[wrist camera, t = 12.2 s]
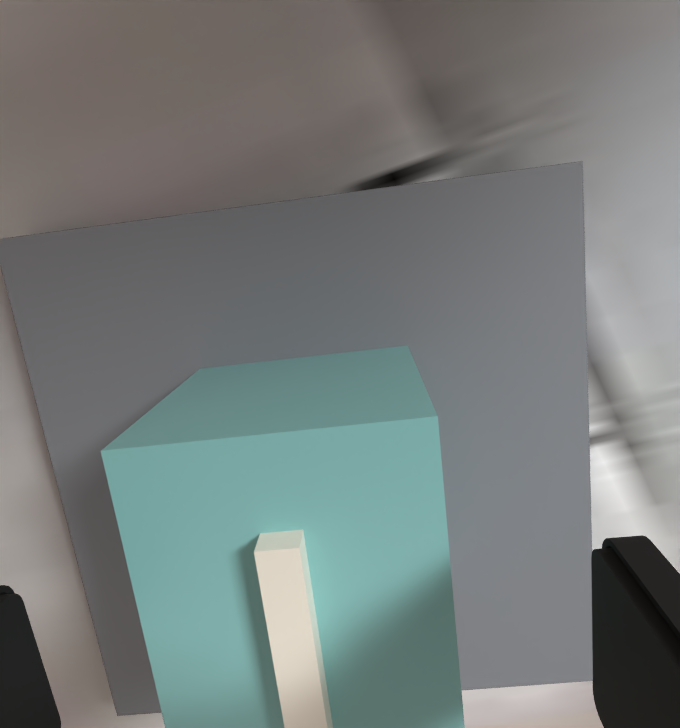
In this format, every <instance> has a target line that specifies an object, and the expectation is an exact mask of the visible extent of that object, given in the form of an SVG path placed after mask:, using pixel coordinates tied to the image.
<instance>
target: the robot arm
mask: <svg viewBox="0 0 680 728" xmlns="http://www.w3.org/2000/svg"><path fill="white" fill-rule="evenodd" d="M591 572H592V653H593V695H594V701H595V705H596V709H597V712H598V715H599V717H600V720H601V722H602V724H603V726H604V728H680V574H679V573H678V572H677V571H676V569H675V568H674V567H673V566H672V565H671V564H670V562H669V561H668V560H667V559H666V558H665V557H664V556H663V554H662V553H661V552H660V551H659V550H658V549H657V547H656V546H655V545H654V544H653V543H652V542H651V540H649V539H648V538H647V537H646V536H632V537H619V538H606V539H605V540H604V542H603V544H602V549H594V550H593V551H592V556H591ZM0 728H61V721H60V716H59V713H58V710H57V707H56V704H55V700H54V697H53V694H52V691H51V688H50V685H49V681H48V678H47V675H46V672H45V669H44V666H43V663H42V659H41V656H40V653H39V650H38V647H37V644H36V640H35V637H34V634H33V631H32V628H31V625H30V621H29V618H28V615H27V612H26V609H25V606H24V602H23V600H22V598H21V597H20V596H19V595H18V594H15V593H14V591H13V590H12V589H11V588H10V587H9V586H5V585H1V586H0Z"/></svg>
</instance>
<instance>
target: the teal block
mask: <svg viewBox="0 0 680 728" xmlns="http://www.w3.org/2000/svg"><path fill="white" fill-rule="evenodd" d="M101 455H102V459H103V463H104V468H105V472H106V476H107V480H108V485H109V489H110V493H111V498H112V502H113V506H114V510H115V515H116V519H117V523H118V527H119V532H120V536H121V540H122V545H123V549H124V553H125V557H126V562H127V566H128V570H129V574H130V579H131V583H132V587H133V592H134V596H135V600H136V604H137V609H138V613H139V617H140V621H141V626H142V630H143V634H144V639H145V643H146V647H147V651H148V656H149V660H150V664H151V668H152V673H153V677H154V681H155V686H156V690H157V694H158V698H159V703H160V707H161V711H162V715H163V720H164V724H165V728H465V727H464V715H463V704H462V692H461V681H460V669H459V657H458V646H457V634H456V622H455V611H454V599H453V587H452V576H451V564H450V553H449V541H448V529H447V518H446V506H445V494H444V483H443V471H442V460H441V448H440V436H439V425H438V416H437V413H436V411H435V409H434V406H433V404H432V401H431V399H430V397H429V394H428V392H427V390H426V387H425V385H424V383H423V380H422V378H421V376H420V373H419V371H418V369H417V366H416V364H415V362H414V359H413V357H412V355H411V352H410V350H409V347H408V346H400V347H391V348H382V349H373V350H364V351H355V352H346V353H337V354H328V355H319V356H310V357H301V358H292V359H283V360H274V361H265V362H256V363H247V364H238V365H230V366H221V367H212V368H203V369H199V370H198V371H197V372H195V373H194V374H193V375H192V376H191V377H189V378H188V379H187V380H186V381H185V382H183V383H182V384H181V385H180V386H179V387H177V388H176V389H175V390H174V391H172V392H171V393H170V394H169V395H168V396H166V397H165V398H164V399H163V400H162V401H160V402H159V403H158V404H157V405H156V406H154V407H153V408H152V409H151V410H150V411H148V412H147V413H146V414H145V415H143V416H142V417H141V418H140V419H139V420H137V421H136V422H135V423H134V424H133V425H131V426H130V427H129V428H128V429H127V430H125V431H124V432H123V433H122V434H121V435H119V436H118V437H117V438H116V439H114V440H113V441H112V442H111V443H110V444H108V445H107V446H106V447H105V448H104V449H102V450H101Z"/></svg>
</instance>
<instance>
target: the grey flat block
mask: <svg viewBox="0 0 680 728" xmlns="http://www.w3.org/2000/svg"><path fill="white" fill-rule="evenodd" d="M0 266H1V270H2V274H3V277H4V281H5V285H6V289H7V293H8V297H9V301H10V304H11V308H12V312H13V316H14V320H15V324H16V328H17V331H18V335H19V339H20V343H21V347H22V351H23V354H24V358H25V362H26V366H27V370H28V374H29V378H30V381H31V385H32V389H33V393H34V397H35V401H36V405H37V408H38V412H39V416H40V420H41V424H42V428H43V431H44V435H45V439H46V443H47V447H48V451H49V455H50V458H51V462H52V466H53V470H54V474H55V478H56V482H57V485H58V489H59V493H60V497H61V501H62V505H63V508H64V512H65V516H66V520H67V524H68V528H69V532H70V535H71V539H72V543H73V547H74V551H75V555H76V559H77V562H78V566H79V570H80V574H81V578H82V582H83V585H84V589H85V593H86V597H87V601H88V605H89V609H90V612H91V616H92V620H93V624H94V628H95V632H96V636H97V639H98V643H99V647H100V651H101V655H102V659H103V662H104V666H105V670H106V674H107V678H108V682H109V686H110V689H111V693H112V697H113V701H114V705H115V709H116V713H117V716H120V715H134V714H148V713H161V712H162V711H161V707H160V703H159V698H158V694H157V690H156V686H155V681H154V677H153V673H152V668H151V664H150V660H149V656H148V651H147V647H146V643H145V639H144V634H143V630H142V626H141V621H140V617H139V613H138V609H137V604H136V600H135V596H134V592H133V587H132V583H131V579H130V574H129V570H128V566H127V562H126V557H125V553H124V549H123V545H122V540H121V536H120V532H119V527H118V523H117V519H116V515H115V510H114V506H113V502H112V498H111V493H110V489H109V485H108V480H107V476H106V472H105V468H104V463H103V459H102V455H101V450H102V449H104V448H105V447H106V446H107V445H108V444H110V443H111V442H112V441H113V440H114V439H116V438H117V437H118V436H119V435H121V434H122V433H123V432H124V431H125V430H127V429H128V428H129V427H130V426H131V425H133V424H134V423H135V422H136V421H137V420H139V419H140V418H141V417H142V416H143V415H145V414H146V413H147V412H148V411H150V410H151V409H152V408H153V407H154V406H156V405H157V404H158V403H159V402H160V401H162V400H163V399H164V398H165V397H166V396H168V395H169V394H170V393H171V392H172V391H174V390H175V389H176V388H177V387H179V386H180V385H181V384H182V383H183V382H185V381H186V380H187V379H188V378H189V377H191V376H192V375H193V374H194V373H195V372H197V371H198V370H199V369H203V368H212V367H221V366H230V365H238V364H247V363H256V362H265V361H274V360H283V359H292V358H301V357H310V356H319V355H328V354H337V353H346V352H355V351H364V350H373V349H382V348H391V347H400V346H408V347H409V350H410V352H411V355H412V357H413V359H414V362H415V364H416V366H417V369H418V371H419V373H420V376H421V378H422V380H423V383H424V385H425V387H426V390H427V392H428V394H429V397H430V399H431V401H432V404H433V406H434V409H435V411H436V413H437V416H438V425H439V436H440V448H441V460H442V471H443V483H444V494H445V506H446V518H447V529H448V541H449V553H450V564H451V576H452V587H453V599H454V611H455V622H456V634H457V646H458V657H459V669H460V681H461V690H473V689H486V688H500V687H513V686H527V685H541V684H554V683H568V682H581V681H593V653H592V572H591V556H592V530H591V489H590V448H589V407H588V366H587V326H586V285H585V244H584V203H583V162H582V161H580V162H573V163H565V164H558V165H550V166H543V167H535V168H528V169H520V170H513V171H505V172H498V173H490V174H483V175H475V176H468V177H460V178H453V179H445V180H438V181H430V182H423V183H415V184H408V185H400V186H393V187H385V188H378V189H370V190H363V191H355V192H348V193H340V194H333V195H325V196H318V197H310V198H303V199H295V200H288V201H280V202H273V203H265V204H258V205H250V206H243V207H235V208H228V209H220V210H213V211H205V212H198V213H190V214H183V215H175V216H168V217H160V218H153V219H145V220H138V221H130V222H123V223H115V224H108V225H100V226H93V227H85V228H78V229H70V230H63V231H55V232H48V233H40V234H33V235H25V236H18V237H10V238H3V239H0Z"/></svg>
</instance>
